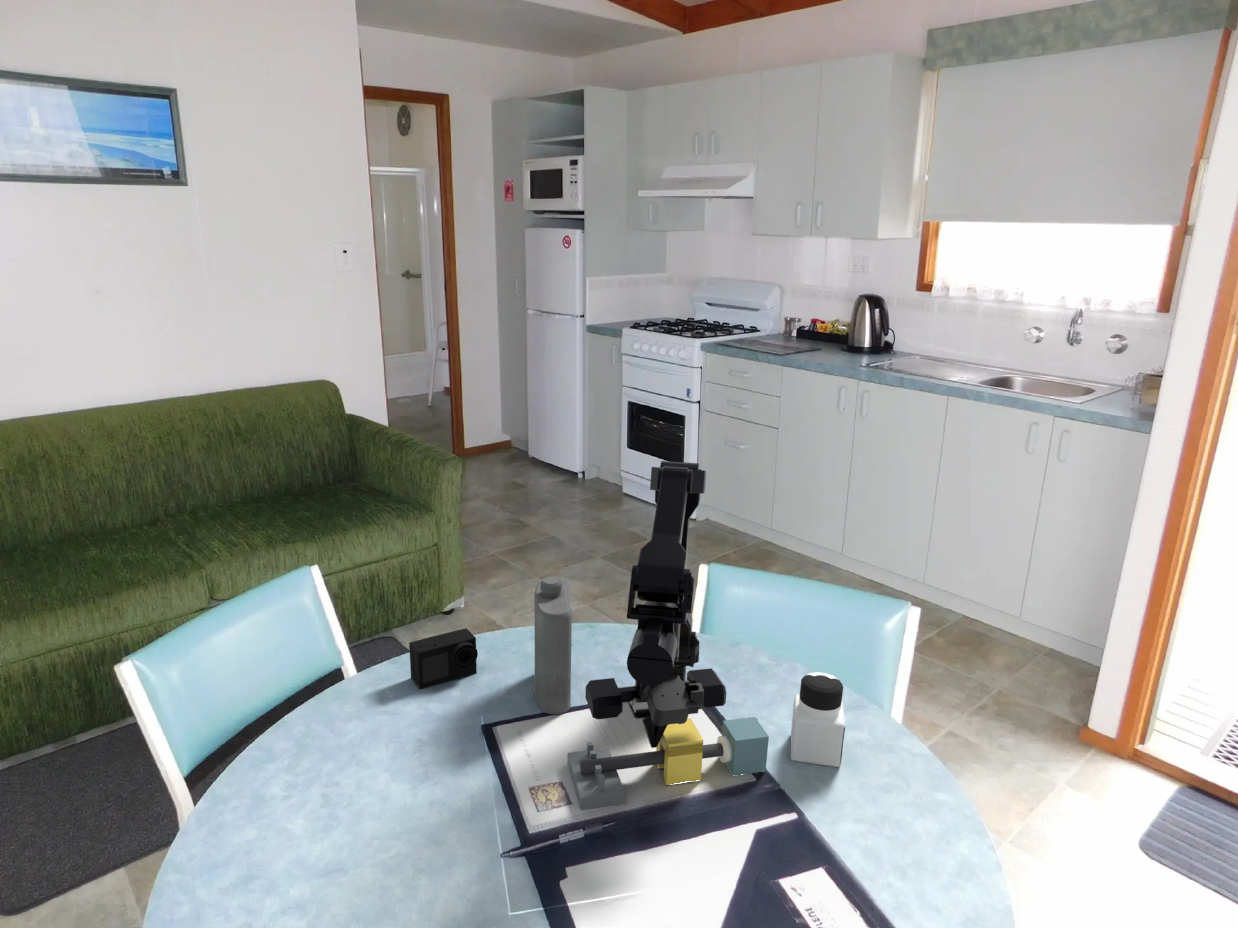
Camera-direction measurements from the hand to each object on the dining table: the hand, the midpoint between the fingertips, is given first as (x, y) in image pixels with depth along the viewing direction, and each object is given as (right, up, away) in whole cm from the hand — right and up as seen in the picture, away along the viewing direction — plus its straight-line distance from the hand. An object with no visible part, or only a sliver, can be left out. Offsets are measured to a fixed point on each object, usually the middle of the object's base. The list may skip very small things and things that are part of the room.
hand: (653, 745), depth 115 cm
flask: (-16, +2, +22) cm, 27 cm away
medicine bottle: (+25, -4, +8) cm, 26 cm away
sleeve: (+4, -4, +2) cm, 6 cm away
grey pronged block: (-8, -5, -1) cm, 10 cm away
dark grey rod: (+3, -5, +2) cm, 6 cm away
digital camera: (-35, +3, +25) cm, 43 cm away
